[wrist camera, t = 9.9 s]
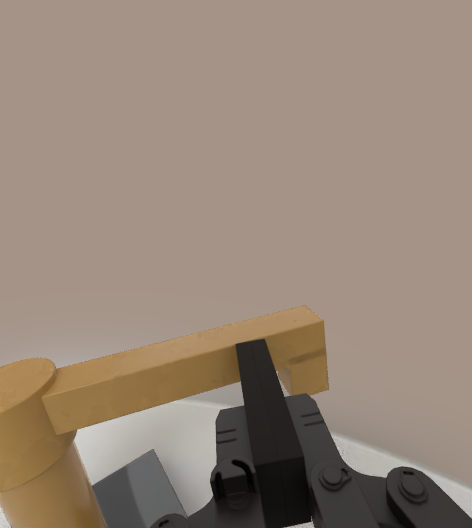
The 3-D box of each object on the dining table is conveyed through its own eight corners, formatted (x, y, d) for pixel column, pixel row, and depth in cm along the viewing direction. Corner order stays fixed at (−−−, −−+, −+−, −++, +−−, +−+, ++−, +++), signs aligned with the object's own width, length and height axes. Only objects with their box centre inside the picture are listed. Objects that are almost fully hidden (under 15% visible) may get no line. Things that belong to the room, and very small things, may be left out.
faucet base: (157, 462, 25) (125, 356, 22) (219, 588, 17) (182, 448, 14) (-25, 577, 19) (-101, 454, 16) (-63, 852, 11) (-228, 708, 8)
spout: (-39, 527, 13) (-92, 440, 12) (8, 444, 17) (-27, 371, 16) (340, 403, 16) (335, 322, 15) (303, 358, 21) (296, 291, 19)
